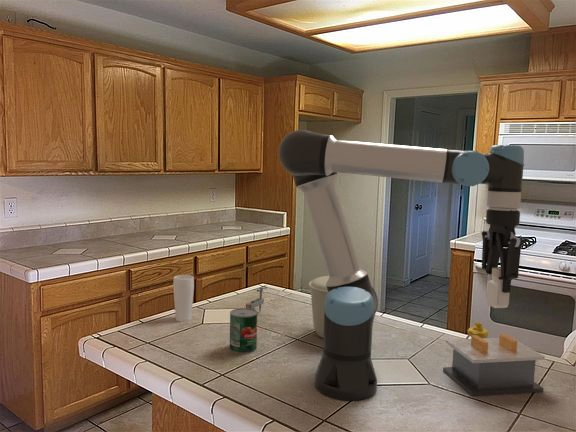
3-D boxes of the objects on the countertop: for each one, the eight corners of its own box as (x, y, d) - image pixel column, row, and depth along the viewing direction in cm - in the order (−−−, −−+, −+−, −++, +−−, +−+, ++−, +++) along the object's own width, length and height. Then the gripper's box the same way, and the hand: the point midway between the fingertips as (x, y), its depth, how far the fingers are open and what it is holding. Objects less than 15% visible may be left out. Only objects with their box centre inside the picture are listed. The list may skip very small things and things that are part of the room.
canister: (358, 349, 140) (361, 279, 138) (299, 340, 146) (301, 273, 143) (368, 330, 157) (371, 267, 155) (315, 322, 163) (317, 262, 160)
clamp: (250, 322, 160) (251, 292, 160) (244, 321, 161) (245, 291, 161) (267, 312, 175) (268, 285, 174) (261, 312, 175) (263, 285, 175)
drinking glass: (184, 315, 166) (184, 273, 164) (197, 320, 162) (198, 276, 161) (169, 320, 161) (169, 277, 159) (182, 325, 157) (182, 280, 155)
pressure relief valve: (470, 351, 141) (472, 318, 140) (513, 363, 133) (516, 328, 132) (463, 357, 137) (466, 323, 135) (508, 369, 129) (511, 333, 128)
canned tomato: (234, 342, 143) (235, 306, 142) (259, 345, 141) (260, 309, 140) (225, 352, 135) (226, 315, 134) (252, 355, 134) (253, 317, 132)
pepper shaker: (508, 308, 117) (511, 270, 116) (493, 308, 117) (496, 270, 116) (499, 303, 121) (501, 267, 120) (484, 304, 121) (487, 267, 120)
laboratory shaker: (472, 396, 113) (475, 350, 112) (442, 371, 127) (445, 330, 125) (543, 391, 116) (547, 347, 115) (507, 367, 130) (510, 327, 129)
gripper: (541, 212, 109) (533, 312, 111) (496, 205, 125) (490, 292, 128) (511, 212, 107) (504, 313, 110) (470, 205, 124) (465, 293, 127)
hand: (497, 301), depth 119 cm, fingers closed on pepper shaker, 4 cm apart
